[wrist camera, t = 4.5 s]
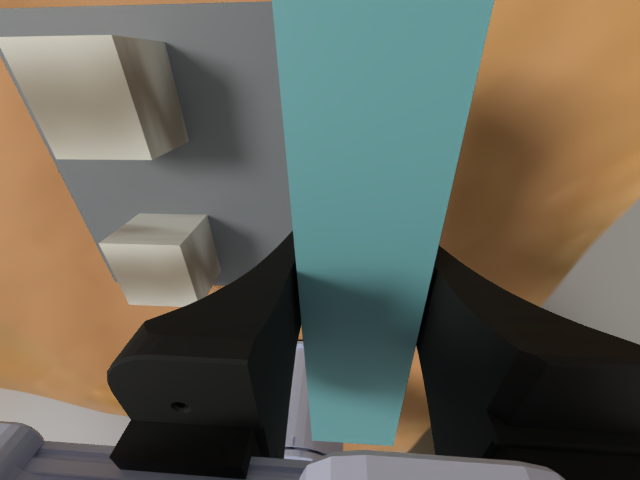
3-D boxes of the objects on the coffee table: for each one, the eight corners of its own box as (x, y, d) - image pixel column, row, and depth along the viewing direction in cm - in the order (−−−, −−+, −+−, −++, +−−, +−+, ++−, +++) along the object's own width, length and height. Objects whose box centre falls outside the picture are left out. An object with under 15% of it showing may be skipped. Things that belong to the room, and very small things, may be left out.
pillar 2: (221, 270, 23) (199, 307, 19) (160, 268, 23) (129, 304, 19) (207, 214, 20) (179, 245, 16) (139, 213, 20) (98, 243, 17)
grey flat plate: (303, 283, 23) (302, 288, 23) (119, 276, 24) (115, 281, 24) (288, 3, 14) (286, 1, 13) (-12, 11, 15) (-24, 9, 14)
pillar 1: (189, 141, 17) (152, 160, 14) (111, 141, 18) (56, 159, 14) (164, 41, 15) (111, 34, 11) (73, 43, 15) (-5, 37, 12)
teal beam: (380, 349, 17) (393, 445, 12) (320, 347, 17) (312, 440, 13) (425, -1, 8) (510, -68, 4) (304, 5, 9) (267, -52, 4)
